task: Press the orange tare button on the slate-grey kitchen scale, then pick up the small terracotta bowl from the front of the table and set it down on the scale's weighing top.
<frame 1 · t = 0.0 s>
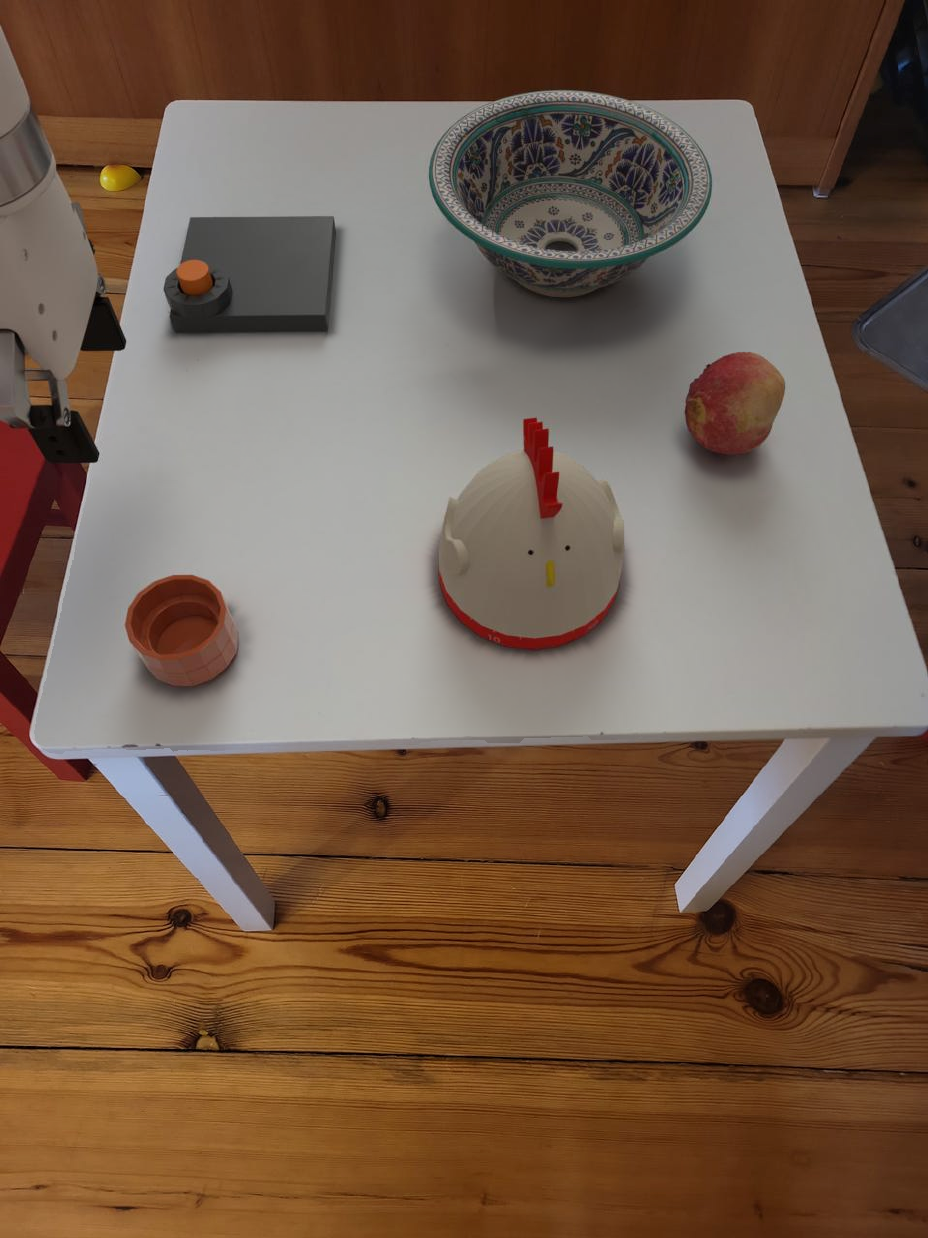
hand: (89, 401, 59), 15 cm above the table, tool pointing down, fingers open, 9 cm apart
tare button: (194, 277, 81), point 4 cm above the table, slide at 0.1 cm
scale: (258, 280, 87), on the table
fruit: (720, 441, 77), on the table
terracotta bowl: (192, 647, 67), on the table
bowl: (559, 262, 89), on the table
kitchen timer: (528, 571, 70), on the table
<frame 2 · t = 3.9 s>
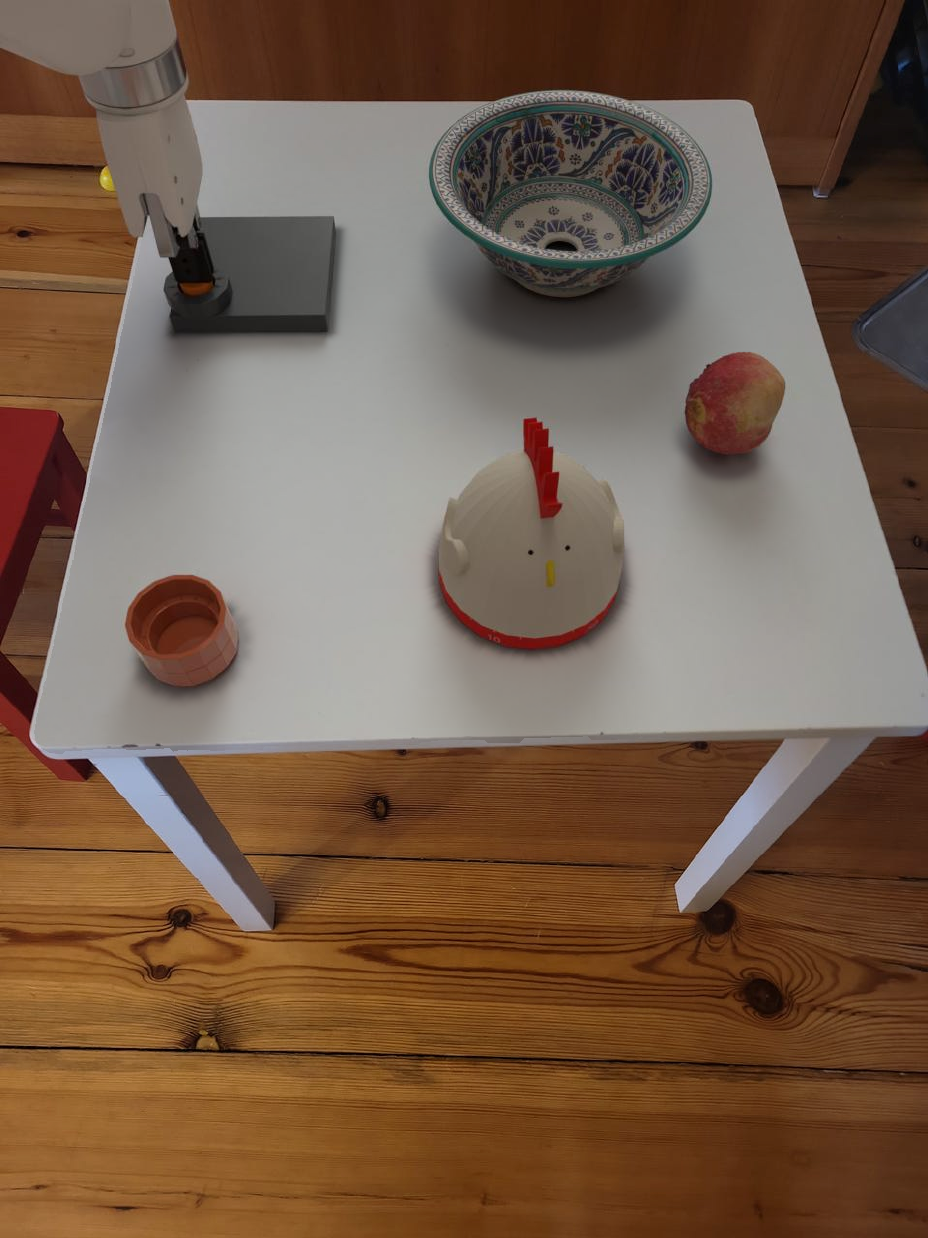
hand: (195, 276, 81), 4 cm above the table, tool pointing down, fingers closed
tare button: (197, 286, 82), point 3 cm above the table, slide at -0.8 cm, touching gripper
everything else where it was.
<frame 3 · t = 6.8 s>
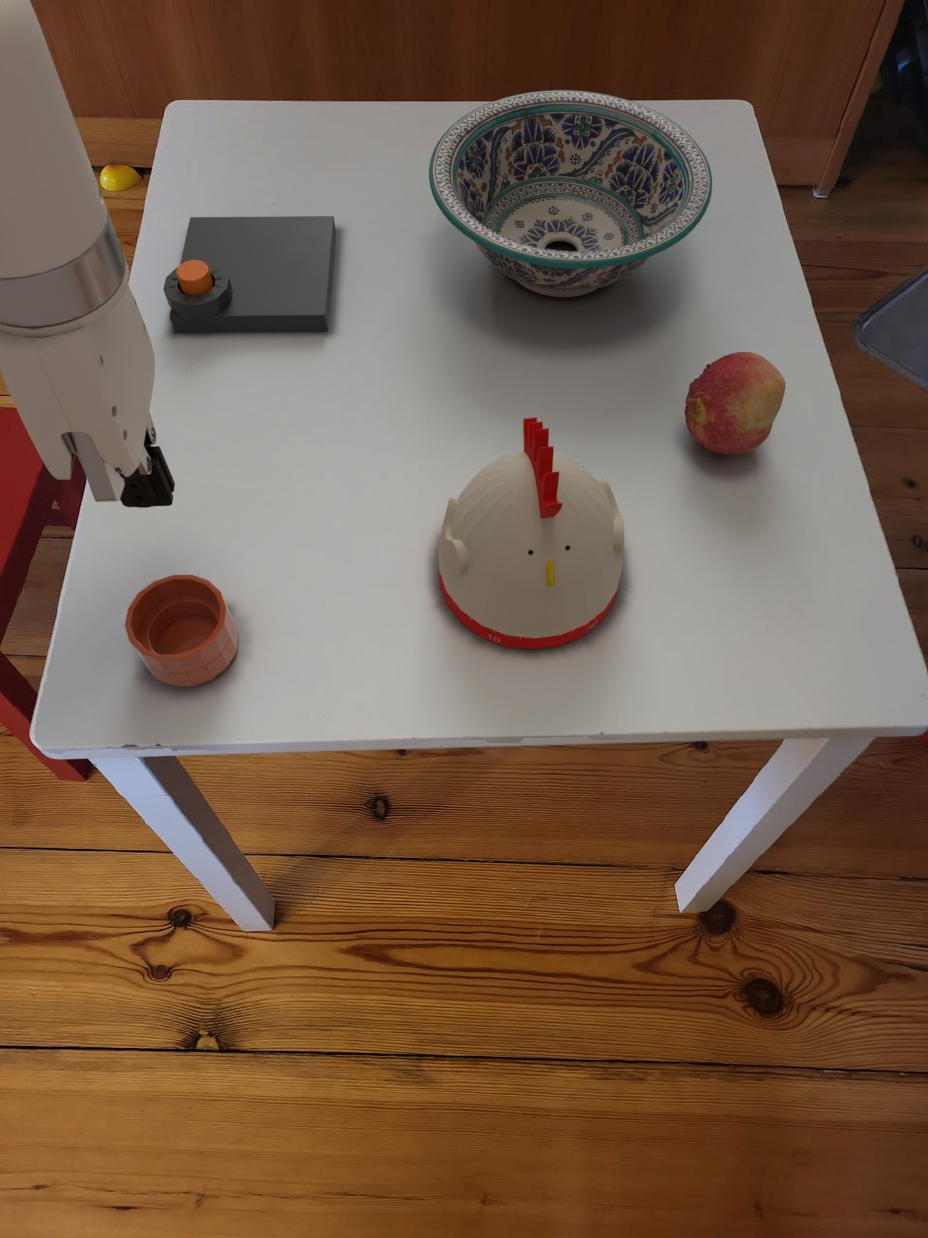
hand: (150, 496, 60), 11 cm above the table, tool pointing down, fingers closed
tare button: (194, 278, 81), point 4 cm above the table, slide at 0.1 cm
everything else where it was.
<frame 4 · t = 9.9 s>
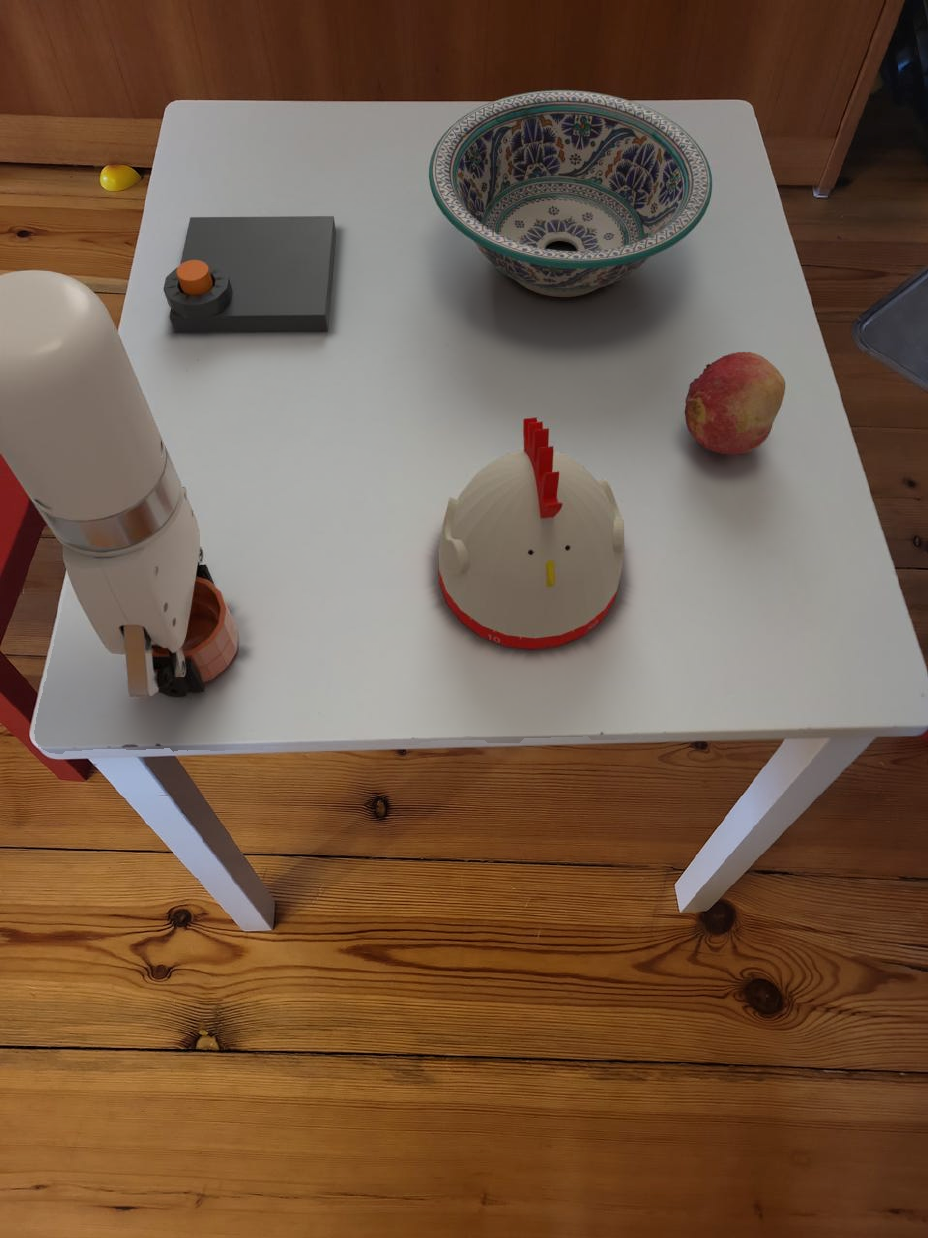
hand: (189, 641, 66), 1 cm above the table, tool pointing down, fingers closed on terracotta bowl, 6 cm apart
terracotta bowl: (192, 647, 67), on the table, touching gripper
everything else where it was.
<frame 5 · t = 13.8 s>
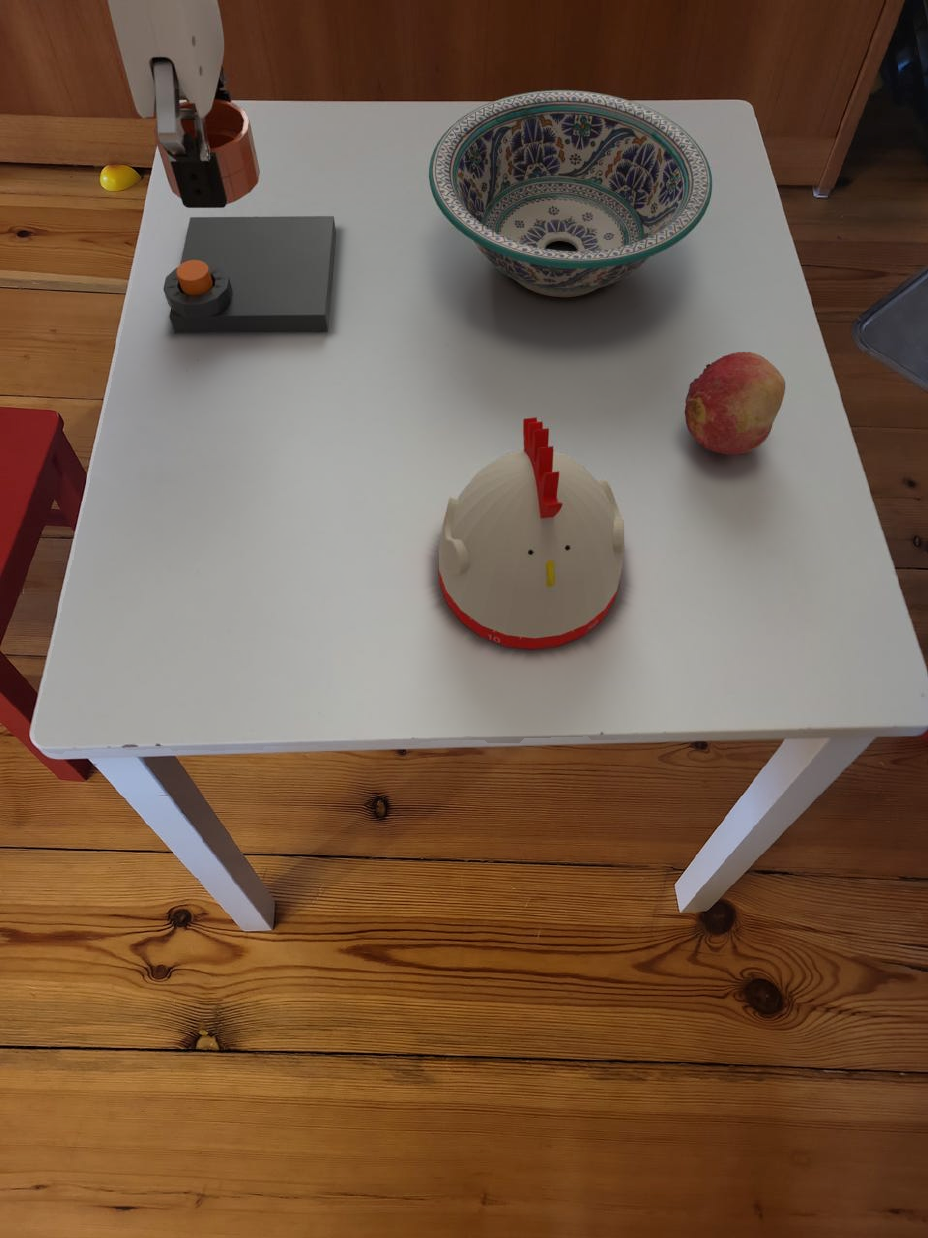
hand: (212, 171, 69), 16 cm above the table, tool pointing down, fingers closed on terracotta bowl, 6 cm apart
terracotta bowl: (216, 183, 70), point 15 cm above the table, touching gripper
everything else where it was.
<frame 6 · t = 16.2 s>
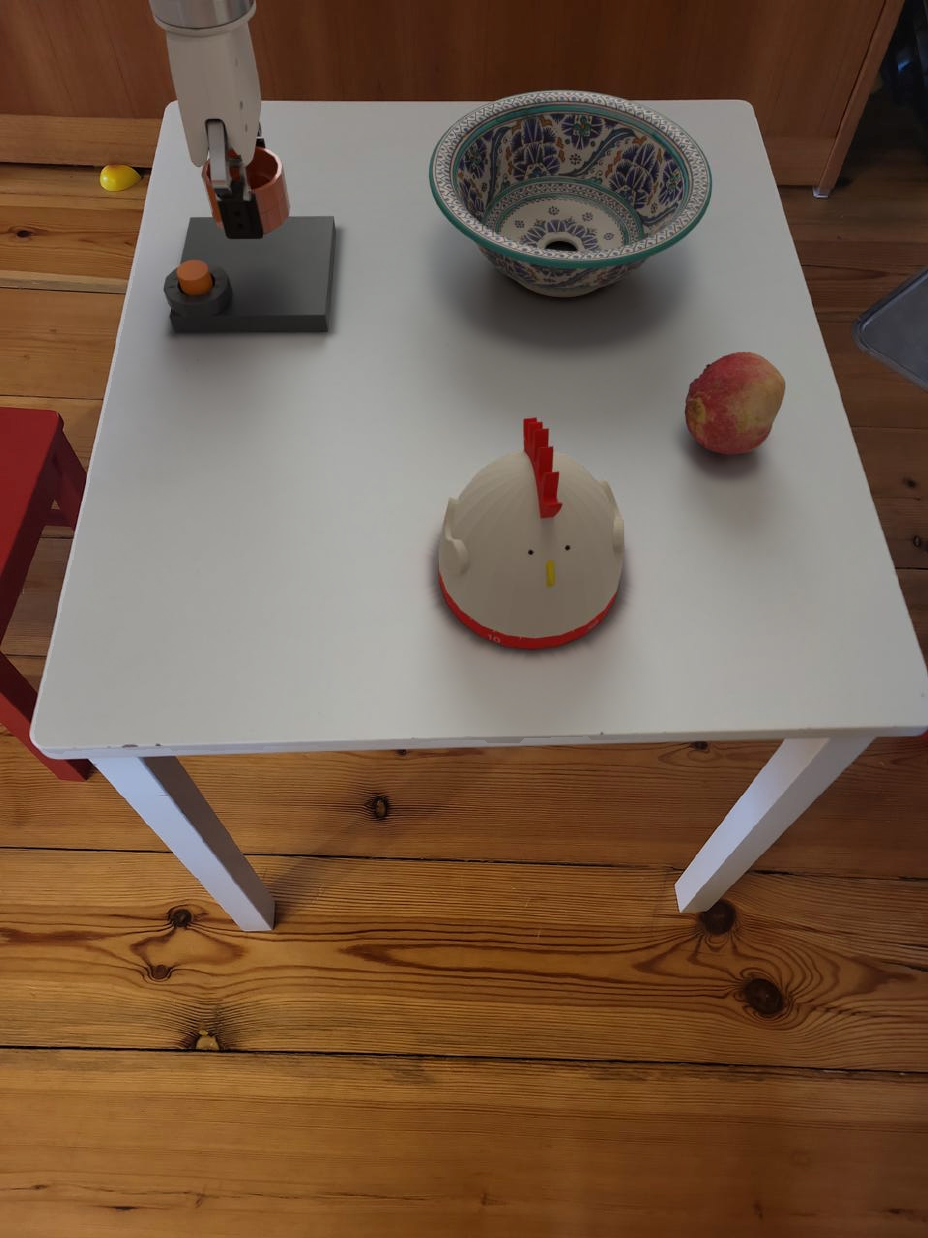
hand: (249, 207, 81), 7 cm above the table, tool pointing down, fingers closed on terracotta bowl, 6 cm apart
terracotta bowl: (252, 216, 81), point 6 cm above the table, touching gripper
everything else where it was.
when the fingers open (3 cm above the table, at t = 18.1 s): terracotta bowl stays where it is, resting on scale.
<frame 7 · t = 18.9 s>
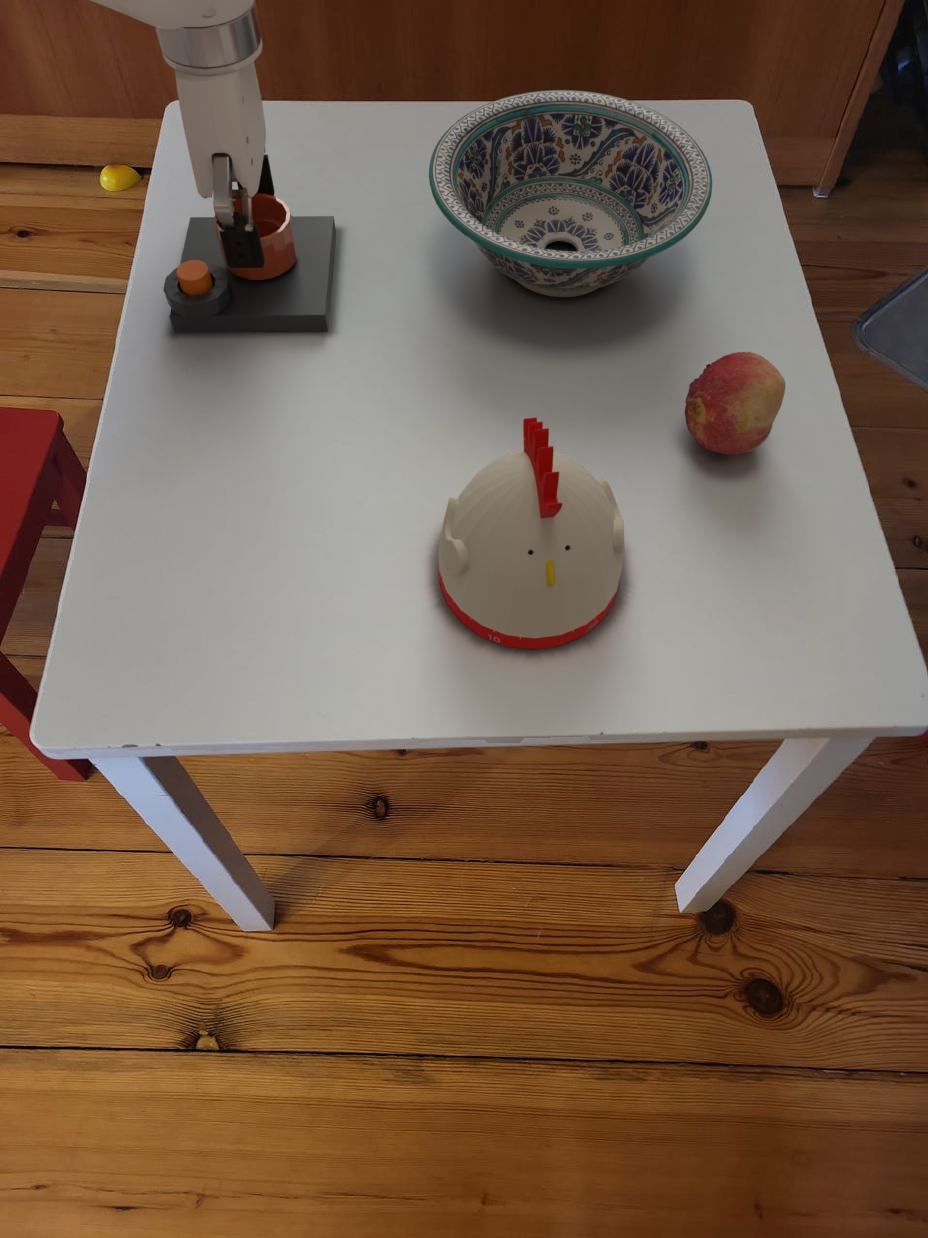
hand: (252, 230, 82), 5 cm above the table, tool pointing down, fingers open, 9 cm apart
terracotta bowl: (261, 260, 85), point 2 cm above the table, touching scale
everything else where it was.
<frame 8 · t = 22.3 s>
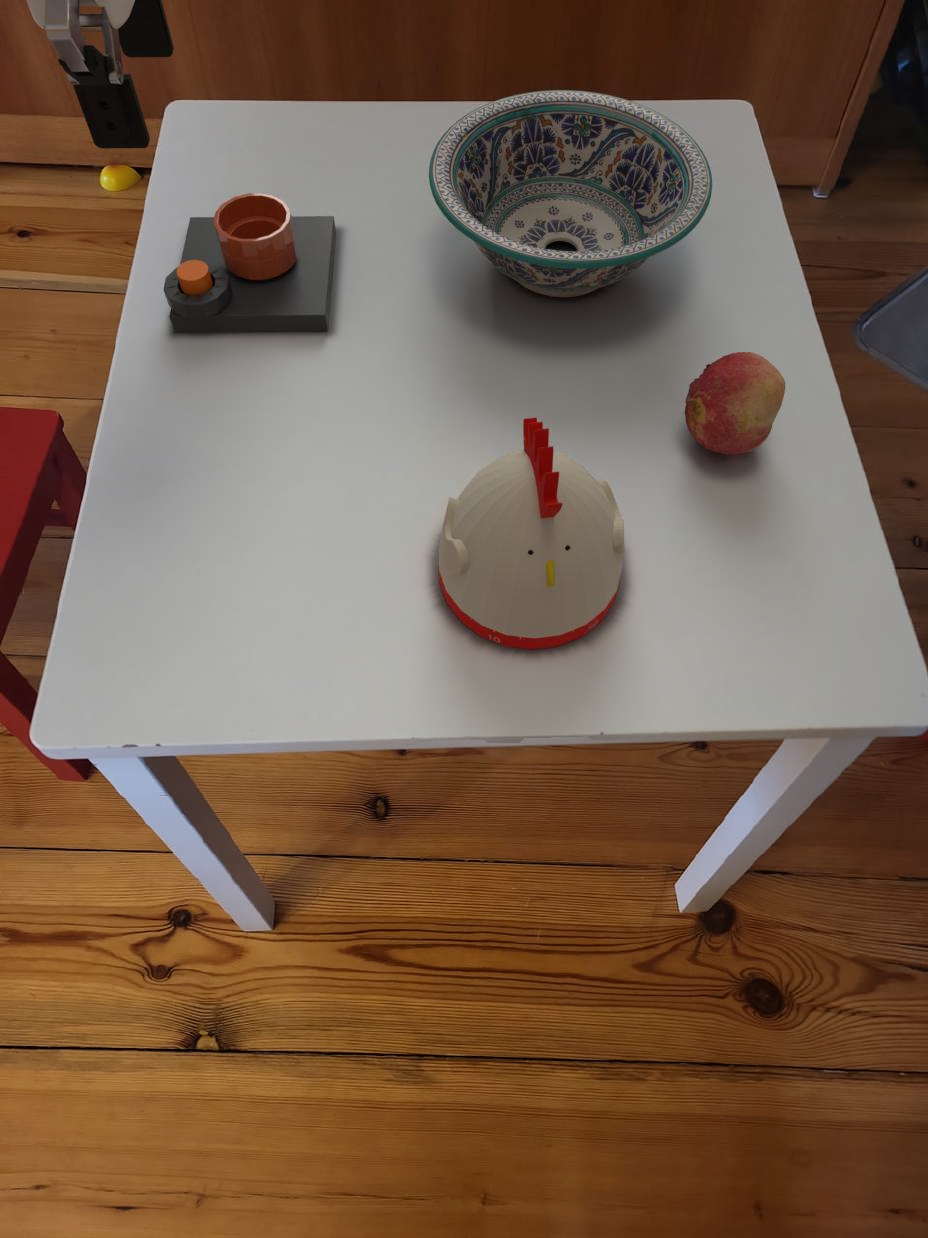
hand: (137, 98, 56), 26 cm above the table, tool pointing down, fingers open, 9 cm apart
nothing on the table moved.
at the end: tare button pushed in 0.9 cm at the most during the clip, back to where it started at the end; terracotta bowl inside the target area on the scale (0.1 cm from its centre), point 1.9 cm above the scale's base; terracotta bowl touching scale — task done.
